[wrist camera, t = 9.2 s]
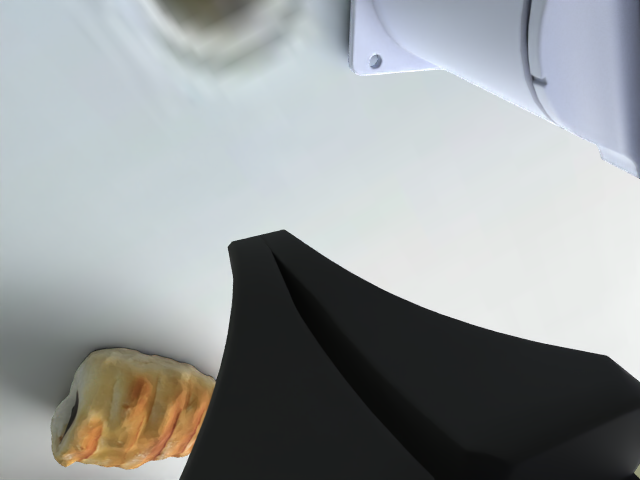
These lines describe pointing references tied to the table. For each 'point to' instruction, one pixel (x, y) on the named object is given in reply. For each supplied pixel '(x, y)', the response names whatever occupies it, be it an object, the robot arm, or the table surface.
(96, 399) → the pastry
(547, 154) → the table surface
